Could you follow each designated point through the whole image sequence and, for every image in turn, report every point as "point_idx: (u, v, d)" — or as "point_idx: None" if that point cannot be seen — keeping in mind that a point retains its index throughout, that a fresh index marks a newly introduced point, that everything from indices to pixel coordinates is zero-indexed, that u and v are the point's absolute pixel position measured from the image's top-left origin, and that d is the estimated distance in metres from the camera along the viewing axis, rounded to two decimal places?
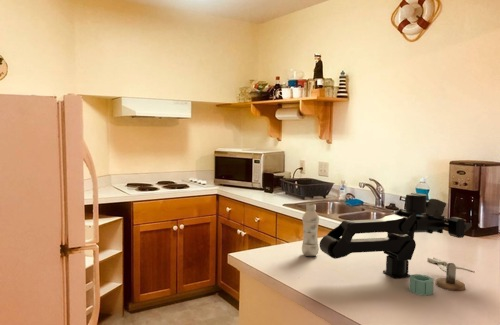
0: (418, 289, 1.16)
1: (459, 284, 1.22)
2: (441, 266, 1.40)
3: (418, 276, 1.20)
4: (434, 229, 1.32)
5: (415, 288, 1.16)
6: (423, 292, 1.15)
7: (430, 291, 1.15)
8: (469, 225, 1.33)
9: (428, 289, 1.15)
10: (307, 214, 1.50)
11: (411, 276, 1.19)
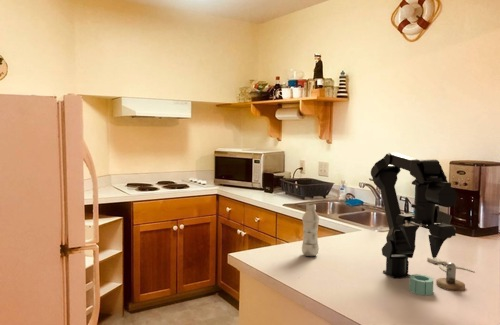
0: (418, 289, 1.16)
1: (459, 284, 1.22)
2: (441, 266, 1.40)
3: (418, 276, 1.20)
4: (426, 212, 1.14)
5: (415, 288, 1.16)
6: (423, 292, 1.15)
7: (430, 291, 1.15)
8: (436, 253, 1.13)
9: (428, 289, 1.15)
10: (307, 214, 1.50)
11: (411, 276, 1.19)
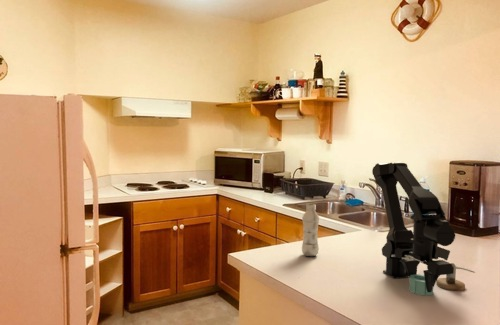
0: (418, 289, 1.16)
1: (459, 284, 1.22)
2: None
3: (418, 276, 1.20)
4: (424, 248, 1.15)
5: (415, 288, 1.16)
6: (423, 292, 1.15)
7: None
8: (431, 288, 1.15)
9: None
10: (307, 214, 1.50)
11: (411, 276, 1.19)
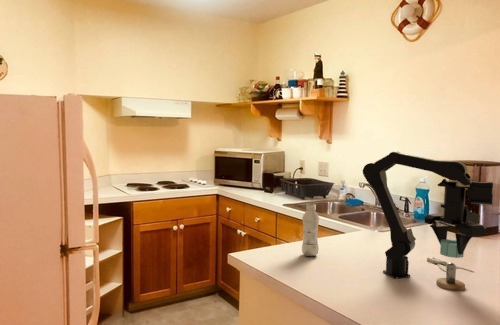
0: (449, 252, 1.20)
1: (459, 284, 1.22)
2: (440, 266, 1.41)
3: (448, 241, 1.24)
4: (456, 212, 1.19)
5: (446, 251, 1.20)
6: (454, 254, 1.19)
7: None
8: (462, 251, 1.18)
9: None
10: (307, 214, 1.50)
11: (442, 240, 1.23)
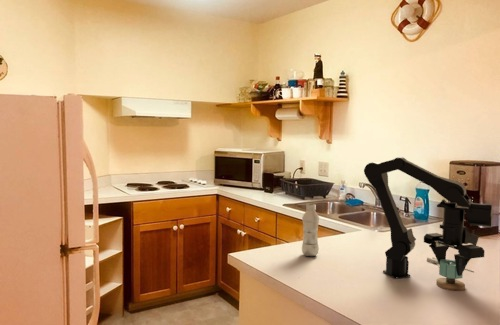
0: (448, 273, 1.20)
1: (459, 284, 1.22)
2: None
3: (447, 261, 1.25)
4: (454, 233, 1.19)
5: (445, 272, 1.21)
6: (453, 276, 1.20)
7: None
8: (461, 272, 1.19)
9: None
10: (307, 214, 1.50)
11: (441, 261, 1.24)
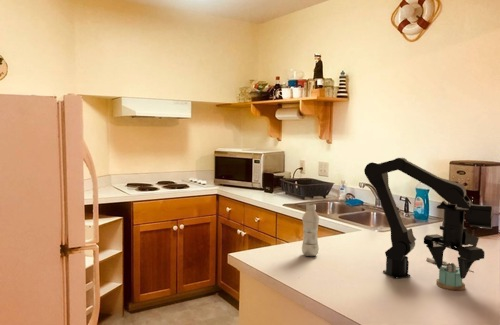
0: (448, 280, 1.20)
1: None
2: None
3: None
4: (454, 234, 1.19)
5: (445, 280, 1.21)
6: (453, 283, 1.20)
7: (460, 282, 1.20)
8: (464, 275, 1.18)
9: (458, 280, 1.20)
10: (307, 214, 1.50)
11: (440, 268, 1.24)
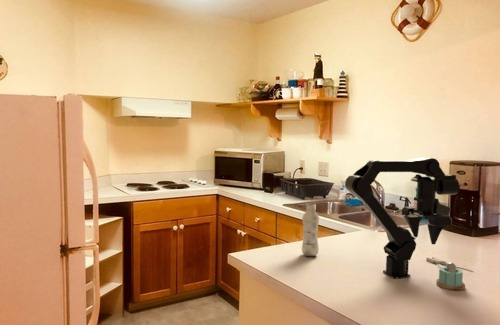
0: (448, 280, 1.20)
1: None
2: (440, 266, 1.41)
3: None
4: (426, 204, 1.29)
5: (445, 280, 1.21)
6: (453, 283, 1.20)
7: (460, 282, 1.20)
8: (435, 241, 1.28)
9: (458, 280, 1.20)
10: (307, 214, 1.50)
11: (440, 268, 1.24)
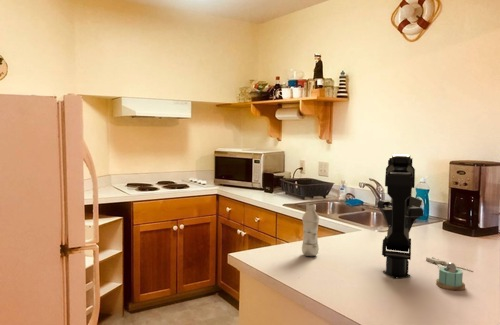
0: (448, 280, 1.20)
1: None
2: (440, 265, 1.41)
3: None
4: None
5: (445, 280, 1.21)
6: (453, 283, 1.20)
7: (460, 282, 1.20)
8: (408, 231, 1.38)
9: (458, 280, 1.20)
10: (307, 214, 1.50)
11: (440, 268, 1.24)
